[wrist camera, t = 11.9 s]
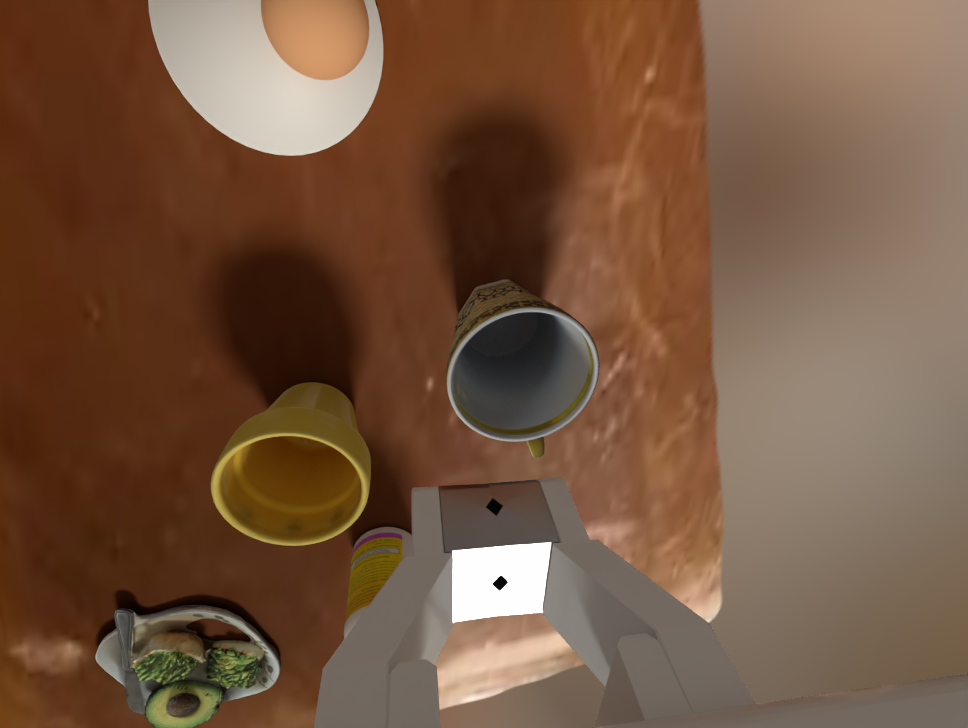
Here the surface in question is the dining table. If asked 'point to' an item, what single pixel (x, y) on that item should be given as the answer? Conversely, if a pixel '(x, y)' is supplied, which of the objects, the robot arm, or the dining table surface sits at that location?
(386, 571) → the supplement bottle
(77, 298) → the dining table surface
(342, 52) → the ball
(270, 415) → the plant pot
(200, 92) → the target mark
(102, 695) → the dining table surface
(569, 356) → the ceramic cup
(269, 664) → the avocado toast plate
